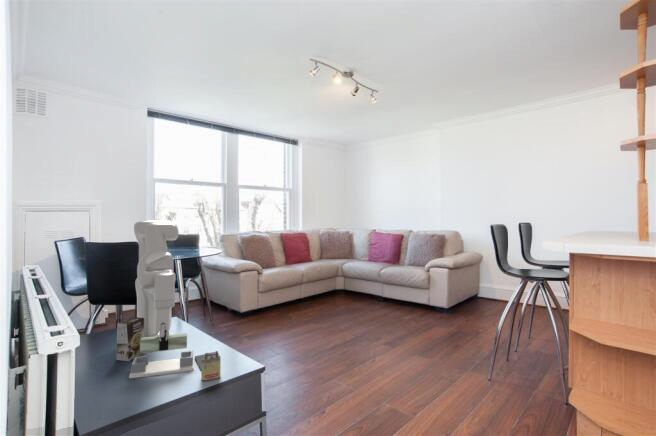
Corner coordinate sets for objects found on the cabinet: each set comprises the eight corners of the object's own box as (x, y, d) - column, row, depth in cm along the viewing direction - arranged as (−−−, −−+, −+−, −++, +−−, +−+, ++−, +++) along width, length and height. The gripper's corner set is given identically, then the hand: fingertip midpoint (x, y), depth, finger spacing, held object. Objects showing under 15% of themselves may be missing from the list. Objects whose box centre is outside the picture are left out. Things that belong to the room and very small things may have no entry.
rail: (141, 350, 138) (141, 337, 138) (186, 345, 143) (187, 333, 143) (139, 353, 134) (139, 340, 134) (186, 348, 140) (186, 336, 140)
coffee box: (128, 361, 145) (129, 324, 144) (116, 360, 146) (116, 322, 146) (144, 353, 154) (144, 317, 153) (132, 351, 155) (132, 316, 155)
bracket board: (134, 366, 141) (134, 355, 140) (194, 358, 148) (194, 348, 148) (129, 378, 130) (129, 366, 130) (193, 370, 138) (193, 359, 138)
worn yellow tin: (201, 382, 128) (202, 356, 128) (200, 377, 132) (200, 352, 131) (221, 378, 132) (221, 352, 132) (219, 374, 135) (219, 349, 135)
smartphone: (200, 370, 137) (194, 356, 150) (200, 372, 137) (193, 358, 150) (218, 366, 140) (210, 353, 153) (218, 368, 140) (210, 355, 153)
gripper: (157, 299, 145) (156, 342, 145) (151, 309, 130) (150, 357, 130) (176, 298, 148) (176, 340, 148) (172, 307, 132) (172, 354, 132)
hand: (164, 347), depth 139 cm, fingers closed on rail, 3 cm apart
